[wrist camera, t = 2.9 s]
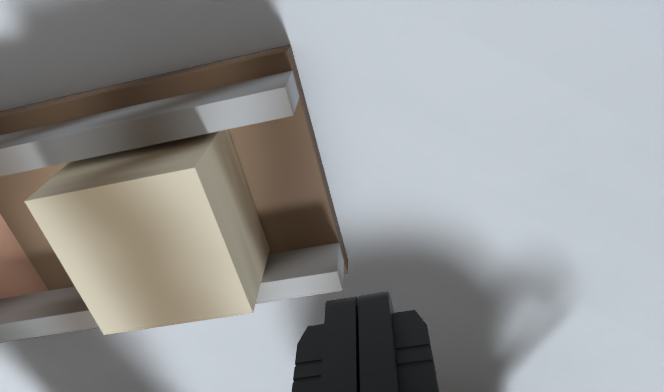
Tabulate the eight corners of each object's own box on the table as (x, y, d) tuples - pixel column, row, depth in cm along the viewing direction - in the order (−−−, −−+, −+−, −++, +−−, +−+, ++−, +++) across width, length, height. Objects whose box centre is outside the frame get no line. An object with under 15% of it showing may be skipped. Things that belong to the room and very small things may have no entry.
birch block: (224, 121, 19) (194, 167, 16) (269, 249, 22) (252, 312, 19) (82, 151, 20) (24, 201, 17) (142, 270, 23) (103, 335, 19)
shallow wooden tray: (290, 44, 19) (274, 74, 15) (347, 260, 23) (345, 321, 20) (-214, 160, 22) (-320, 206, 19) (-77, 328, 27) (-142, 390, 23)
